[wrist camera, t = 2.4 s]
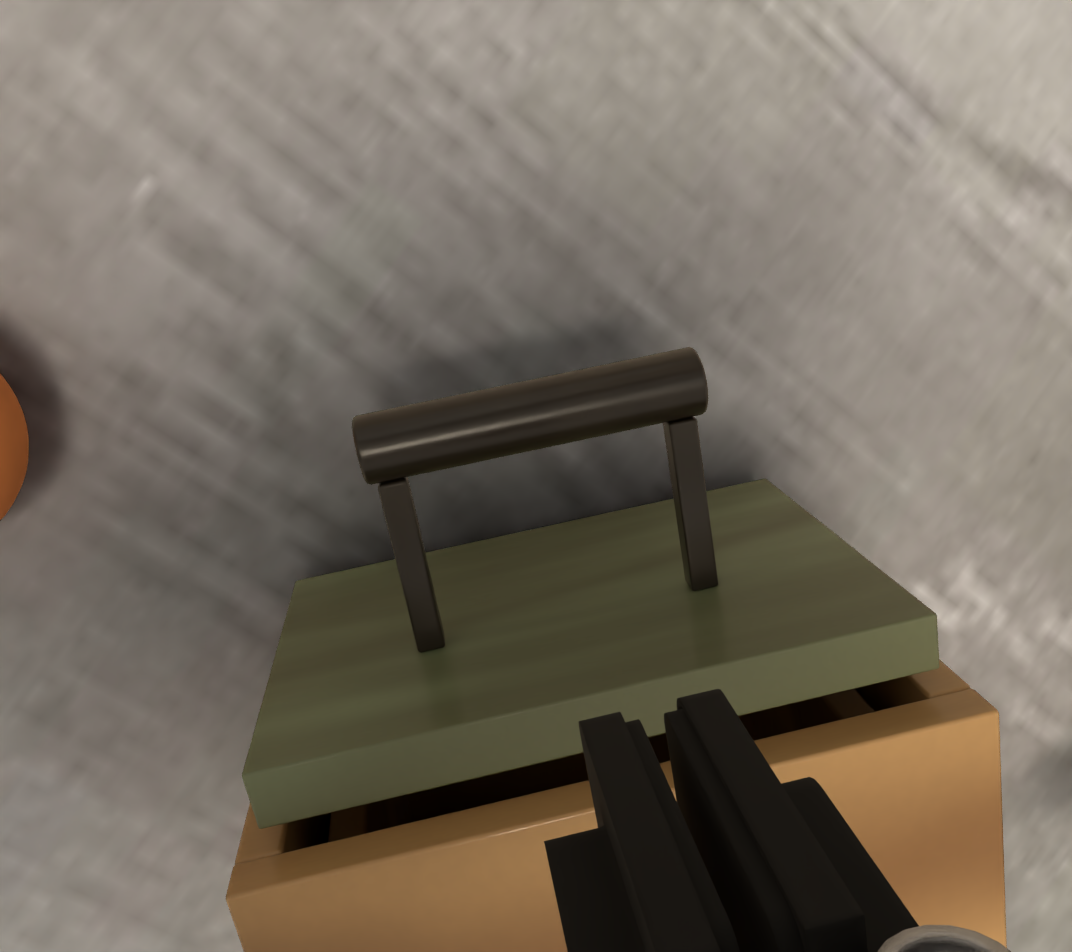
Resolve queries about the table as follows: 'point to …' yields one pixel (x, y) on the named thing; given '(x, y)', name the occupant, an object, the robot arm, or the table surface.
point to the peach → (11, 447)
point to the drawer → (560, 616)
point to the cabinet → (527, 821)
